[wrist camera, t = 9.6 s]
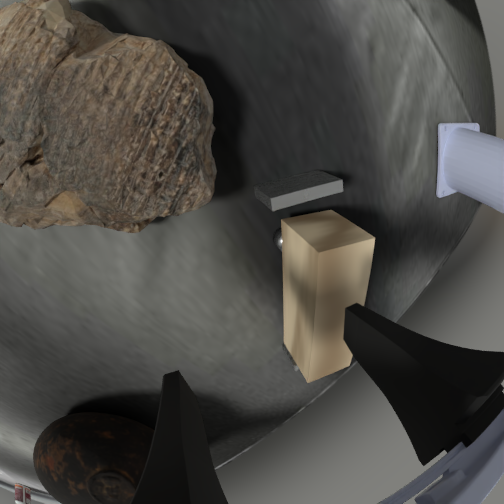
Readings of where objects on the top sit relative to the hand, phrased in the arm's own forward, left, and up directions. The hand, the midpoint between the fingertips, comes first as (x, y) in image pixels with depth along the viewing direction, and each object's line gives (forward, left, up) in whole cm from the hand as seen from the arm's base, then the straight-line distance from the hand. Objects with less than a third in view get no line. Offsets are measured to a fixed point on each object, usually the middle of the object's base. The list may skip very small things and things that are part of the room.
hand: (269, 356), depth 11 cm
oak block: (-6, +5, -9) cm, 12 cm away
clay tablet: (+7, -11, -11) cm, 17 cm away
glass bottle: (+20, +19, -11) cm, 30 cm away
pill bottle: (+71, +48, -11) cm, 86 cm away
